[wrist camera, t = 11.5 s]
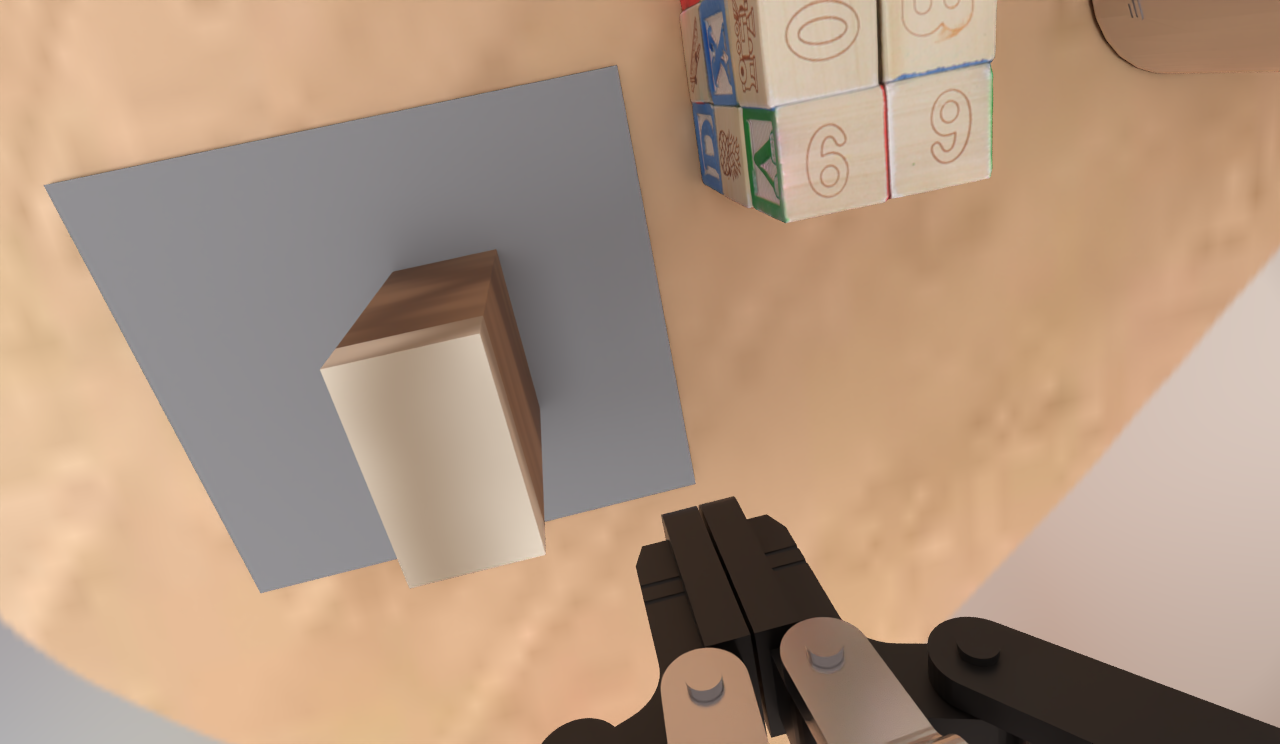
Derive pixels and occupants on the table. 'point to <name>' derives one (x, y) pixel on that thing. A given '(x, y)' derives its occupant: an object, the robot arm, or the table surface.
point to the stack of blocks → (839, 99)
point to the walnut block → (444, 419)
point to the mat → (352, 275)
